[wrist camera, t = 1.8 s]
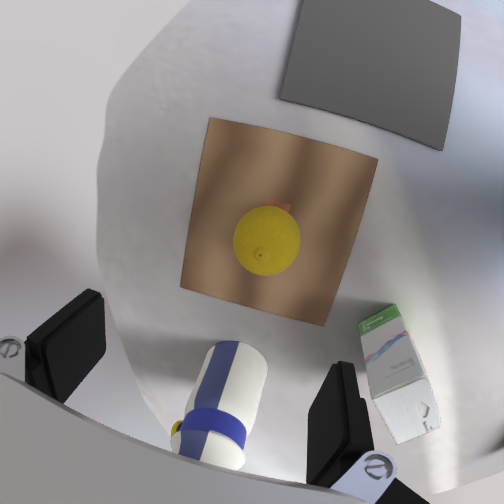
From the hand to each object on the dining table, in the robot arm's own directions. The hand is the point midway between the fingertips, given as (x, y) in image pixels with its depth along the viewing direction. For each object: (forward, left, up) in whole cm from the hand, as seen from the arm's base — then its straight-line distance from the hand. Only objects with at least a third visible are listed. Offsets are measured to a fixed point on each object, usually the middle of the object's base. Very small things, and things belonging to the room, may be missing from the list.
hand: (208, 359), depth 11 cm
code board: (0, 0, -20) cm, 20 cm away
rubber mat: (-6, -20, -20) cm, 29 cm away
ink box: (-16, +9, -20) cm, 27 cm away
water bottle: (0, +18, -20) cm, 27 cm away
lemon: (0, 0, -20) cm, 20 cm away
